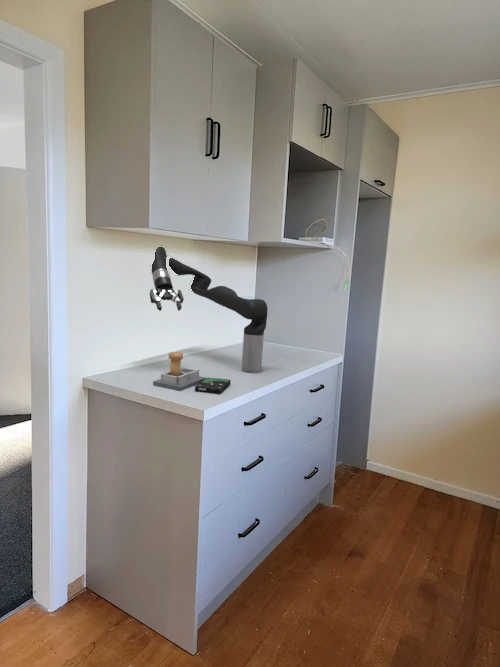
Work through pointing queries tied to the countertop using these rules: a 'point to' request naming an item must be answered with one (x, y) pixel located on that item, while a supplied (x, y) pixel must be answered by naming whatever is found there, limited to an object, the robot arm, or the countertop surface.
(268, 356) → the countertop surface
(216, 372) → the countertop surface
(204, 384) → the disk drive
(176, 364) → the ball-topped knob
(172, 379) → the box
